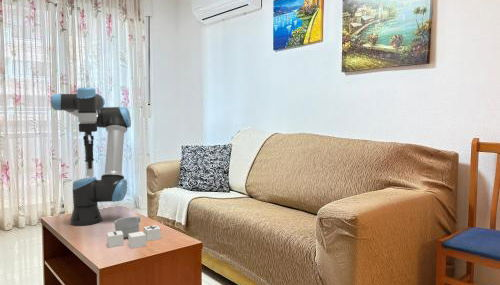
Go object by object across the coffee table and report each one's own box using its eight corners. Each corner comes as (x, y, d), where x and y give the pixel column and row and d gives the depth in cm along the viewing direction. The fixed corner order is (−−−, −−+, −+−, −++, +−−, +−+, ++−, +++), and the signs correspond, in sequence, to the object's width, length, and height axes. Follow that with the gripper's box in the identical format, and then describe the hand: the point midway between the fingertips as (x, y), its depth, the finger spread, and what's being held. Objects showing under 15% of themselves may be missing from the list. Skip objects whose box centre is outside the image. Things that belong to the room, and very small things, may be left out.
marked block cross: (144, 237, 170) (143, 226, 170) (157, 235, 173) (156, 224, 173) (147, 241, 165) (147, 230, 165) (160, 239, 168) (160, 227, 168)
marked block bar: (107, 243, 163) (107, 232, 163) (121, 241, 166) (121, 230, 165) (109, 248, 158) (108, 236, 157) (123, 245, 160) (123, 233, 160)
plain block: (128, 244, 161) (128, 233, 161) (142, 242, 164) (142, 231, 164) (131, 249, 156) (131, 237, 156) (146, 246, 159) (145, 234, 159)
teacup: (124, 241, 166) (124, 223, 165) (110, 237, 172) (109, 220, 171) (149, 233, 177) (149, 216, 176) (135, 229, 183) (134, 213, 183)
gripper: (98, 122, 160) (101, 177, 162) (95, 122, 171) (97, 173, 173) (79, 123, 156) (82, 178, 158) (77, 122, 168) (79, 174, 169)
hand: (90, 175), depth 166 cm, fingers closed
